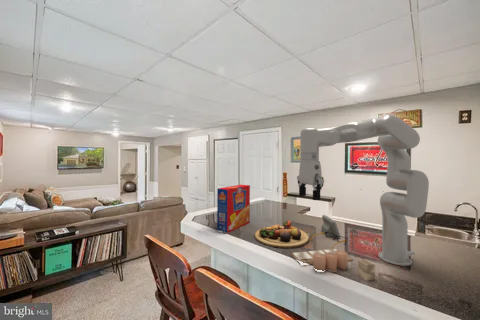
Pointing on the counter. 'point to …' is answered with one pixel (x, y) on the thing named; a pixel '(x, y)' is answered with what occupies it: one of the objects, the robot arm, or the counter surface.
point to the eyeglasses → (333, 239)
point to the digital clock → (330, 227)
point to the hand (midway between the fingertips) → (309, 197)
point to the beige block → (366, 269)
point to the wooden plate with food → (282, 236)
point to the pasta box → (233, 207)
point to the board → (308, 255)
